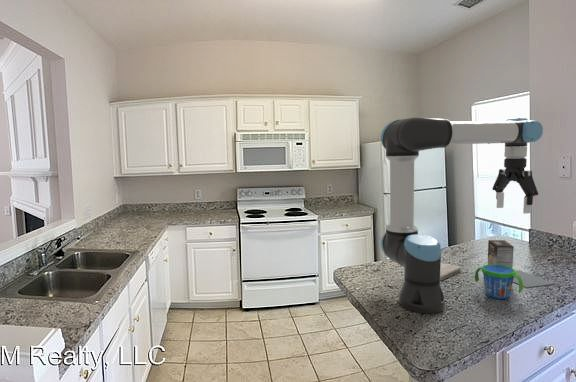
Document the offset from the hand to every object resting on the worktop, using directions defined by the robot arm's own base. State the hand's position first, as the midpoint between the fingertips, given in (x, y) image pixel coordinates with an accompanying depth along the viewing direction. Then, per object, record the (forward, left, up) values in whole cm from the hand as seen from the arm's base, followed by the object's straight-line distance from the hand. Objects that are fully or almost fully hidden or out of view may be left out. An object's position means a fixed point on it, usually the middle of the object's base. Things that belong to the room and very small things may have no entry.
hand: (512, 210), depth 144 cm
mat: (+3, -3, -28) cm, 28 cm away
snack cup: (-19, -14, -28) cm, 37 cm away
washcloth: (-24, +13, -29) cm, 39 cm away
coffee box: (-8, -3, -28) cm, 29 cm away
